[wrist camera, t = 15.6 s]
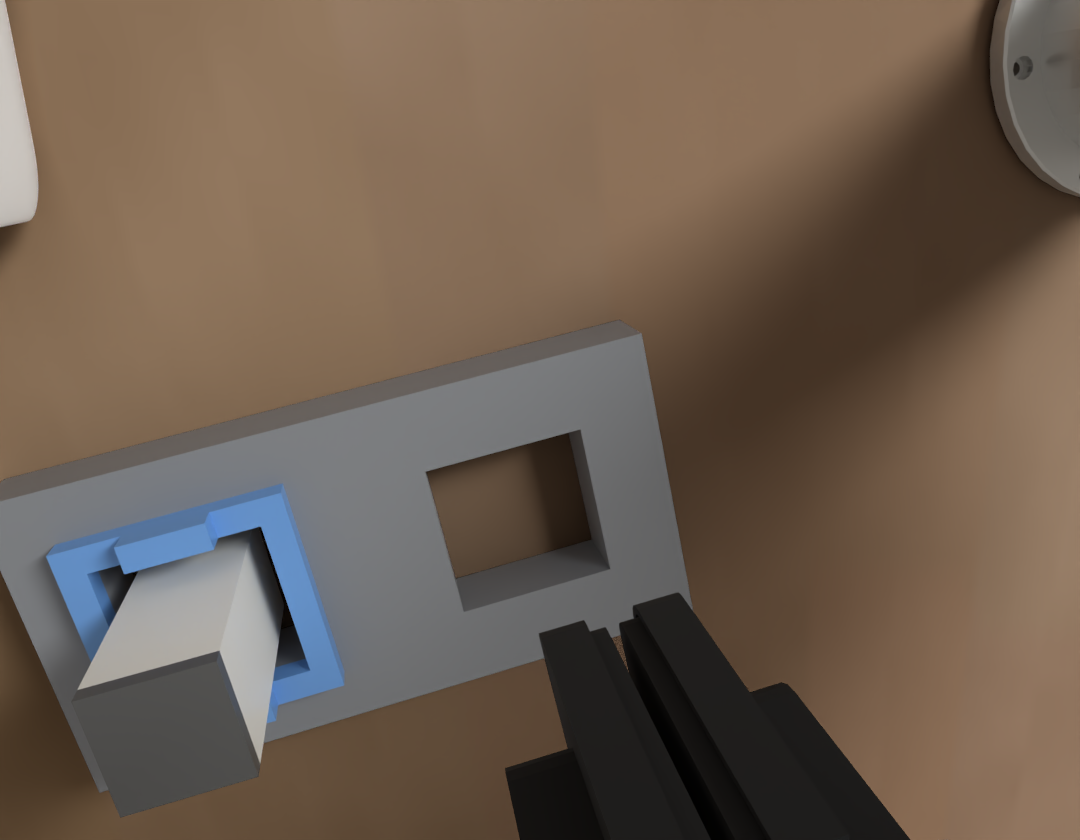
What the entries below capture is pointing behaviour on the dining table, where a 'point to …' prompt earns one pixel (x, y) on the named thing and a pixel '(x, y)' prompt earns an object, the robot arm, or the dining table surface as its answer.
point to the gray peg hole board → (363, 526)
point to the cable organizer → (14, 138)
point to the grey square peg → (185, 676)
